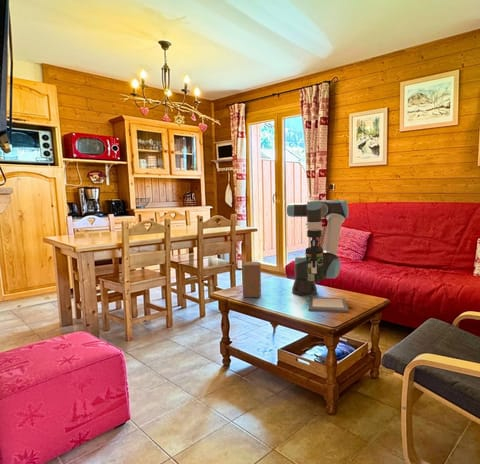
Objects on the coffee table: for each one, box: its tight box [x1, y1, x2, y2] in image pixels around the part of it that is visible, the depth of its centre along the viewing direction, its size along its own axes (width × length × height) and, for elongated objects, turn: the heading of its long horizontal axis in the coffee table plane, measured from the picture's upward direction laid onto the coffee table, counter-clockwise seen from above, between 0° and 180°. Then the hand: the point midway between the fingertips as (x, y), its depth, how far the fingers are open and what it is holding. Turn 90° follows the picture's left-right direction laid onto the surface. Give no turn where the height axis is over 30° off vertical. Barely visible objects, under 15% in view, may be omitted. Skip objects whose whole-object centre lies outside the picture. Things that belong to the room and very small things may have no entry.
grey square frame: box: [308, 296, 350, 313], centre depth 190 cm, size 20×20×2 cm
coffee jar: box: [305, 245, 325, 283], centre depth 187 cm, size 10×8×19 cm
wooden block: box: [241, 261, 262, 298], centre depth 211 cm, size 10×10×20 cm
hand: (314, 271), depth 188 cm, fingers closed on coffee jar, 9 cm apart
